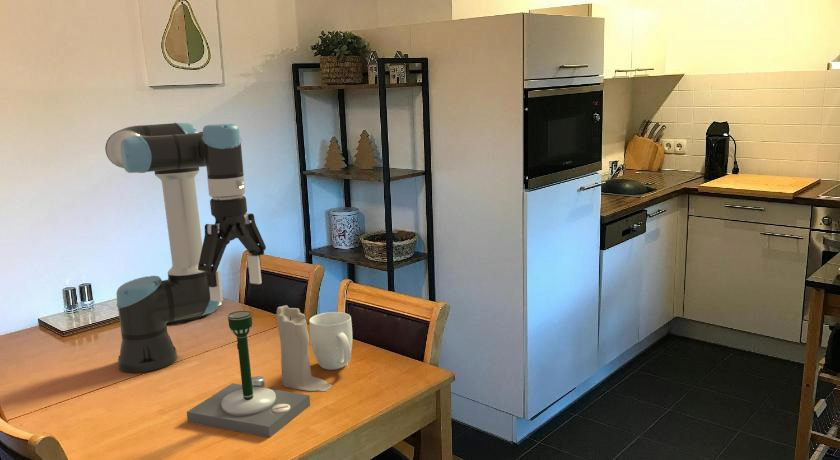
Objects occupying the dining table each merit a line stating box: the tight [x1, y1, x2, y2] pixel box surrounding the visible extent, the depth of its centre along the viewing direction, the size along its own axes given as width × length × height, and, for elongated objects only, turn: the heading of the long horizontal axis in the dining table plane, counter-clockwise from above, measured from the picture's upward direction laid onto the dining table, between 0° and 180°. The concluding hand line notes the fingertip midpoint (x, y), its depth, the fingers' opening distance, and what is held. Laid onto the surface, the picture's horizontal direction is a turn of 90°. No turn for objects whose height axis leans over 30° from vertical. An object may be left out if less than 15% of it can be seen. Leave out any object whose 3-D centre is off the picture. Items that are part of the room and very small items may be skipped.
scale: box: [186, 382, 311, 439], centre depth 156 cm, size 22×16×4 cm
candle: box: [276, 304, 333, 392], centre depth 169 cm, size 7×14×20 cm, turn 61°
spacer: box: [251, 375, 266, 388], centre depth 169 cm, size 4×4×2 cm
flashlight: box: [227, 310, 253, 400], centre depth 153 cm, size 5×5×20 cm
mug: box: [308, 311, 353, 371], centre depth 179 cm, size 15×11×13 cm
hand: (237, 291), depth 151 cm, fingers open, 13 cm apart
